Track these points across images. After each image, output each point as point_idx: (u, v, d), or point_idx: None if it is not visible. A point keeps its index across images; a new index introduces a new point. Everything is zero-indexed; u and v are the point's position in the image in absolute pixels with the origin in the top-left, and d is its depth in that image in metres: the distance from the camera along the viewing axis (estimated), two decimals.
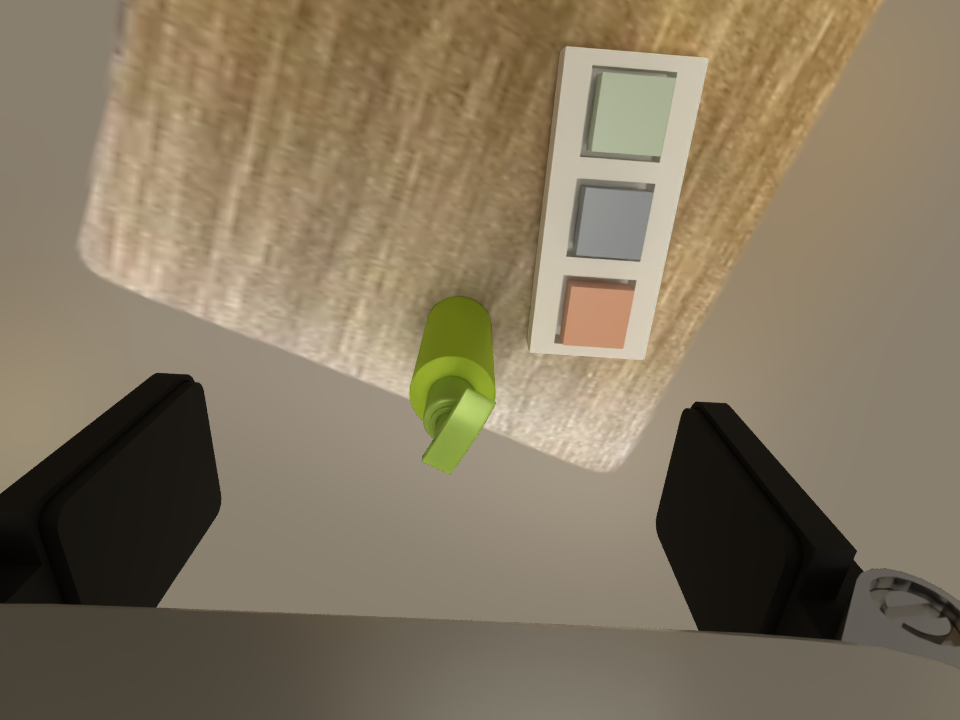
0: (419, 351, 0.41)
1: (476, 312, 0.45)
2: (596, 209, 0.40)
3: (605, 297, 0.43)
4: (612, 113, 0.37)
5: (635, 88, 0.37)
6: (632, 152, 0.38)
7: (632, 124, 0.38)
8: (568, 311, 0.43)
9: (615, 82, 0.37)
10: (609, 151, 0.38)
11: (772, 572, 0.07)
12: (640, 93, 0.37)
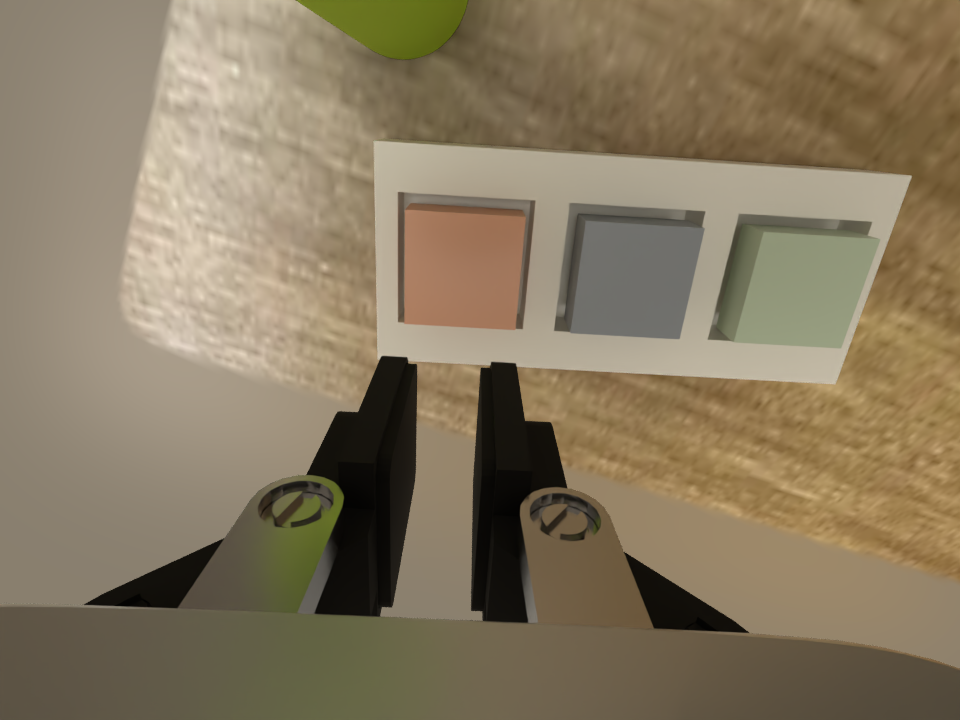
0: None
1: (457, 12, 0.21)
2: (664, 250, 0.23)
3: (503, 282, 0.23)
4: (814, 260, 0.23)
5: (842, 291, 0.24)
6: (748, 299, 0.24)
7: (790, 294, 0.24)
8: (475, 215, 0.22)
9: (859, 260, 0.23)
10: (757, 262, 0.23)
11: (479, 494, 0.08)
12: (833, 301, 0.24)
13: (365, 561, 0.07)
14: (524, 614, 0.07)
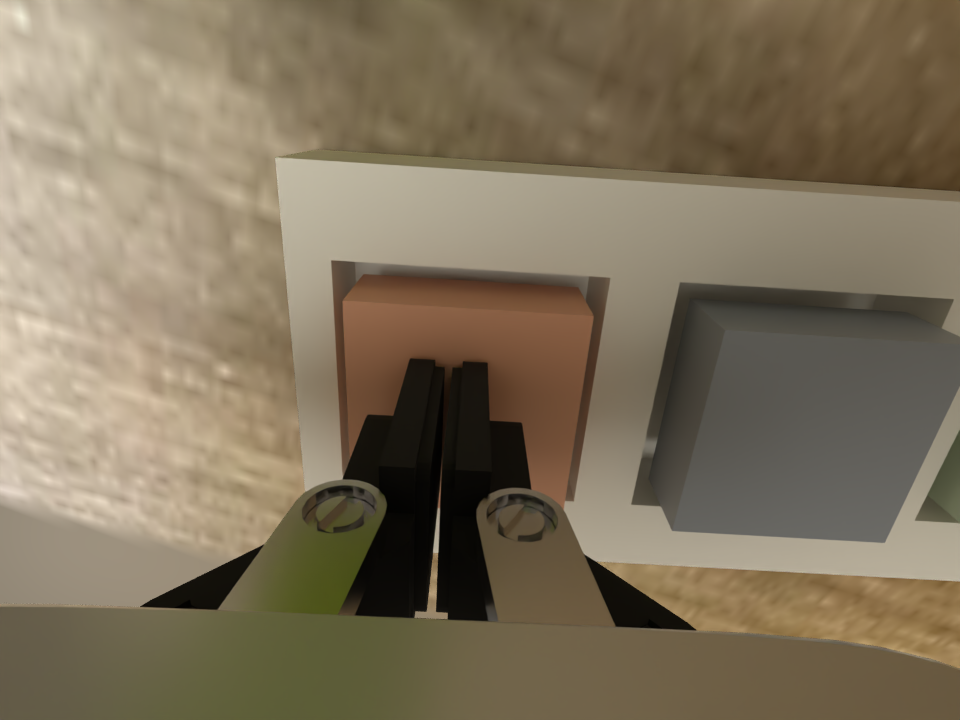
0: None
1: None
2: (885, 387, 0.11)
3: (543, 434, 0.12)
4: None
5: None
6: None
7: None
8: (489, 311, 0.11)
9: None
10: None
11: None
12: None
13: (406, 566, 0.07)
14: (481, 615, 0.07)
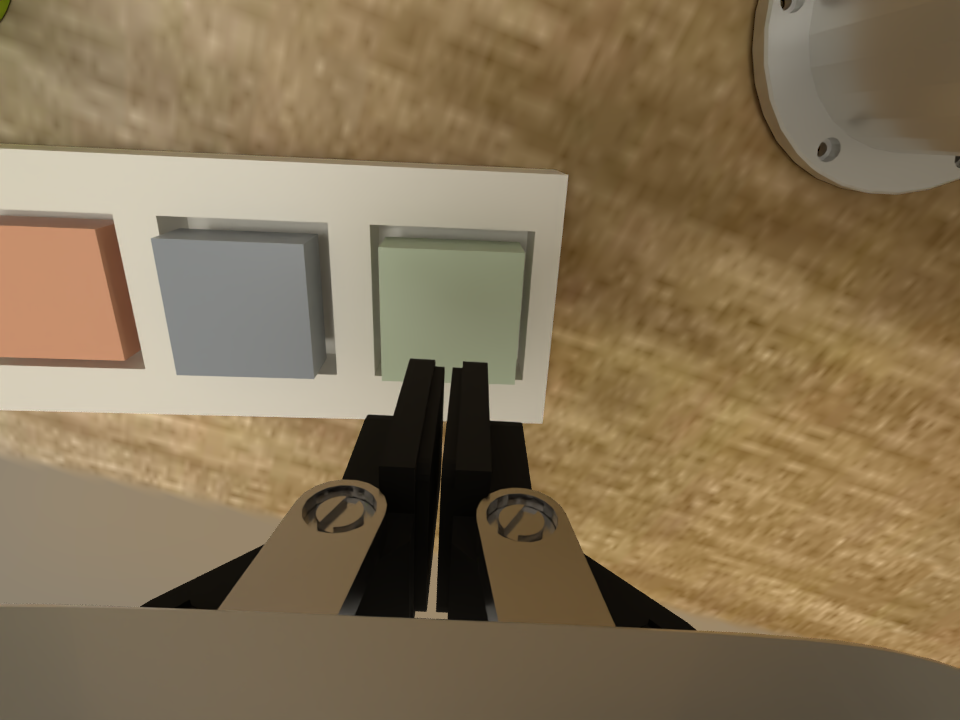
0: None
1: None
2: (261, 272, 0.18)
3: (92, 305, 0.20)
4: (451, 280, 0.19)
5: (496, 317, 0.19)
6: (383, 329, 0.19)
7: (434, 322, 0.19)
8: (34, 227, 0.19)
9: (506, 279, 0.19)
10: (381, 284, 0.19)
11: None
12: (489, 329, 0.19)
13: (406, 566, 0.07)
14: (482, 615, 0.07)
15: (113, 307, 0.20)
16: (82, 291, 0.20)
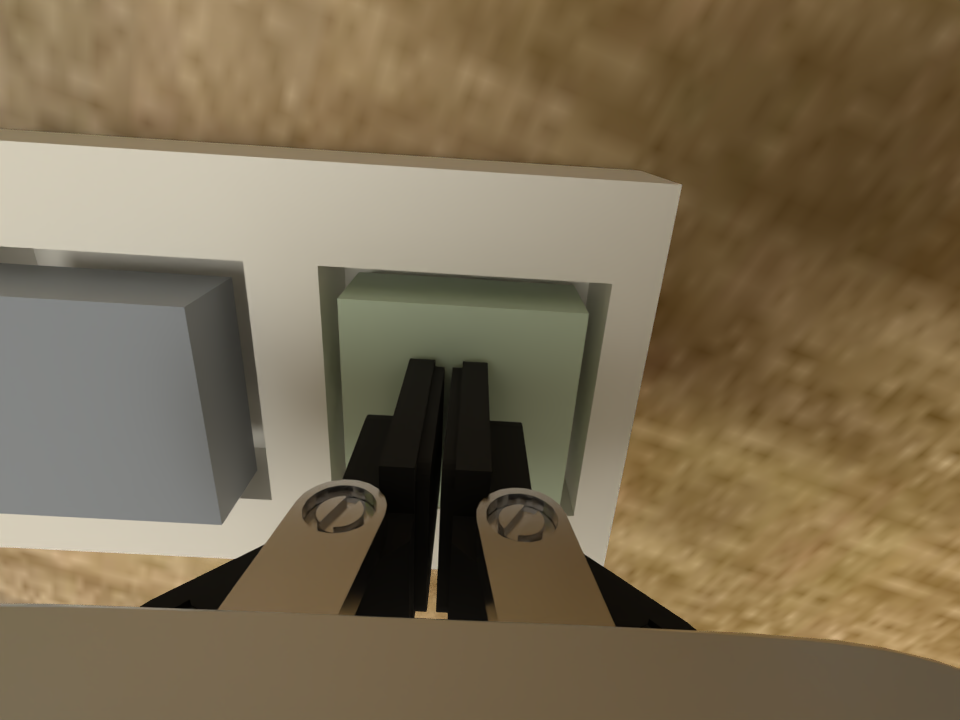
0: None
1: None
2: (112, 353, 0.10)
3: None
4: (461, 354, 0.11)
5: (535, 413, 0.12)
6: (349, 426, 0.12)
7: None
8: None
9: (555, 355, 0.11)
10: (343, 358, 0.11)
11: None
12: None
13: (406, 566, 0.07)
14: (482, 615, 0.07)
15: None
16: None
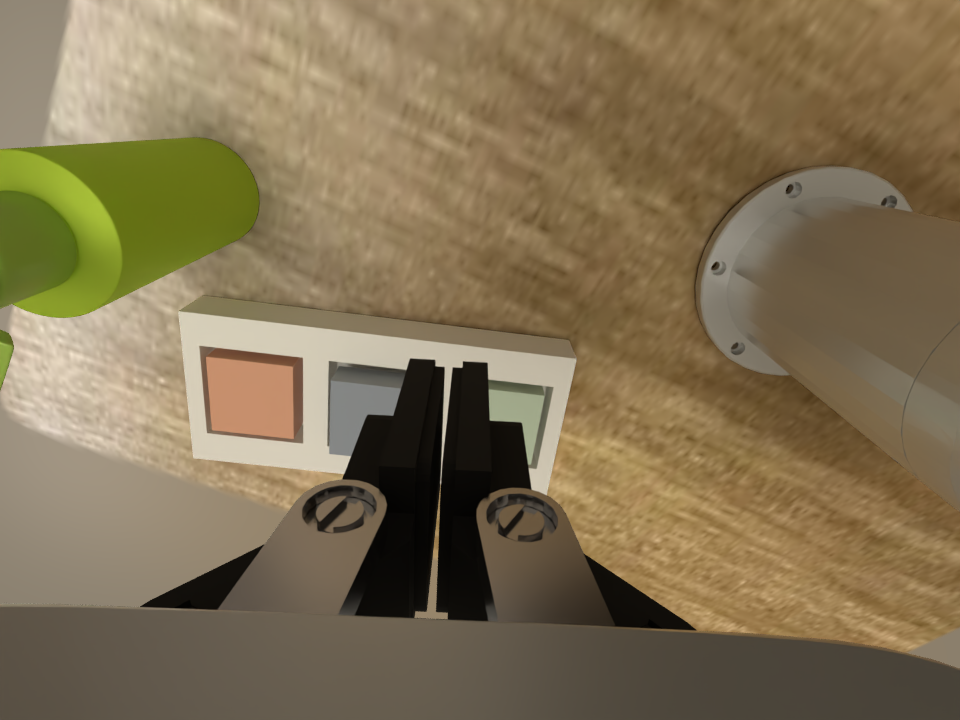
0: (135, 151, 0.22)
1: (233, 233, 0.29)
2: (391, 403, 0.31)
3: (281, 407, 0.33)
4: (501, 406, 0.33)
5: (524, 427, 0.33)
6: None
7: None
8: (256, 363, 0.31)
9: (532, 408, 0.33)
10: None
11: None
12: None
13: (406, 566, 0.07)
14: (482, 615, 0.07)
15: (292, 408, 0.33)
16: (277, 399, 0.32)
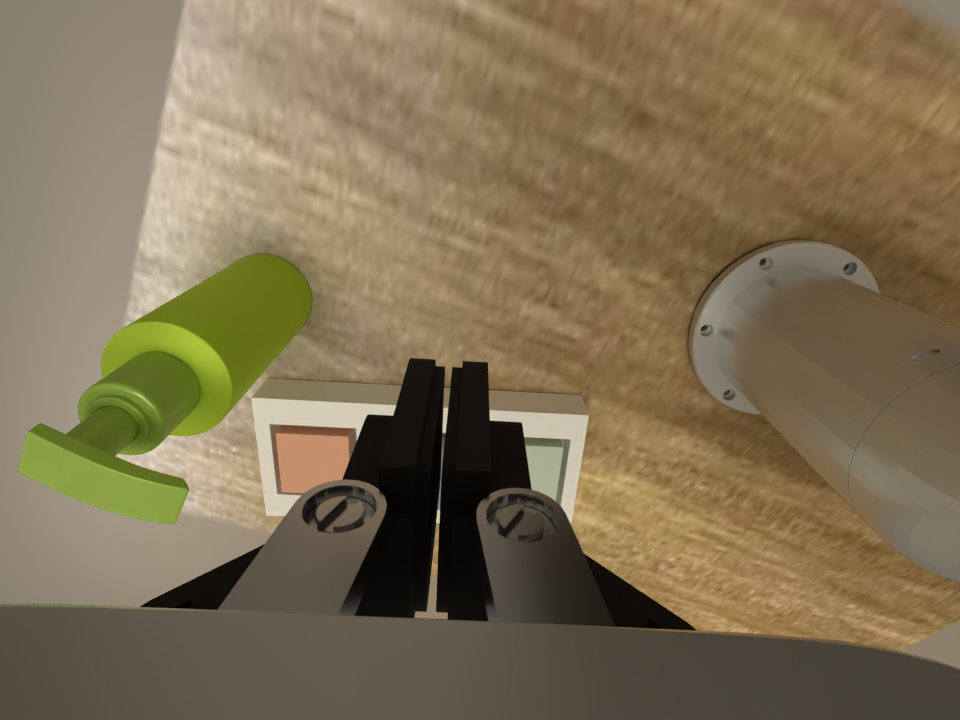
0: (226, 293, 0.28)
1: (295, 333, 0.35)
2: None
3: (340, 470, 0.38)
4: None
5: (548, 474, 0.39)
6: None
7: None
8: (318, 435, 0.37)
9: (553, 458, 0.38)
10: None
11: None
12: (543, 479, 0.39)
13: (406, 566, 0.07)
14: (482, 615, 0.07)
15: None
16: (336, 463, 0.38)
